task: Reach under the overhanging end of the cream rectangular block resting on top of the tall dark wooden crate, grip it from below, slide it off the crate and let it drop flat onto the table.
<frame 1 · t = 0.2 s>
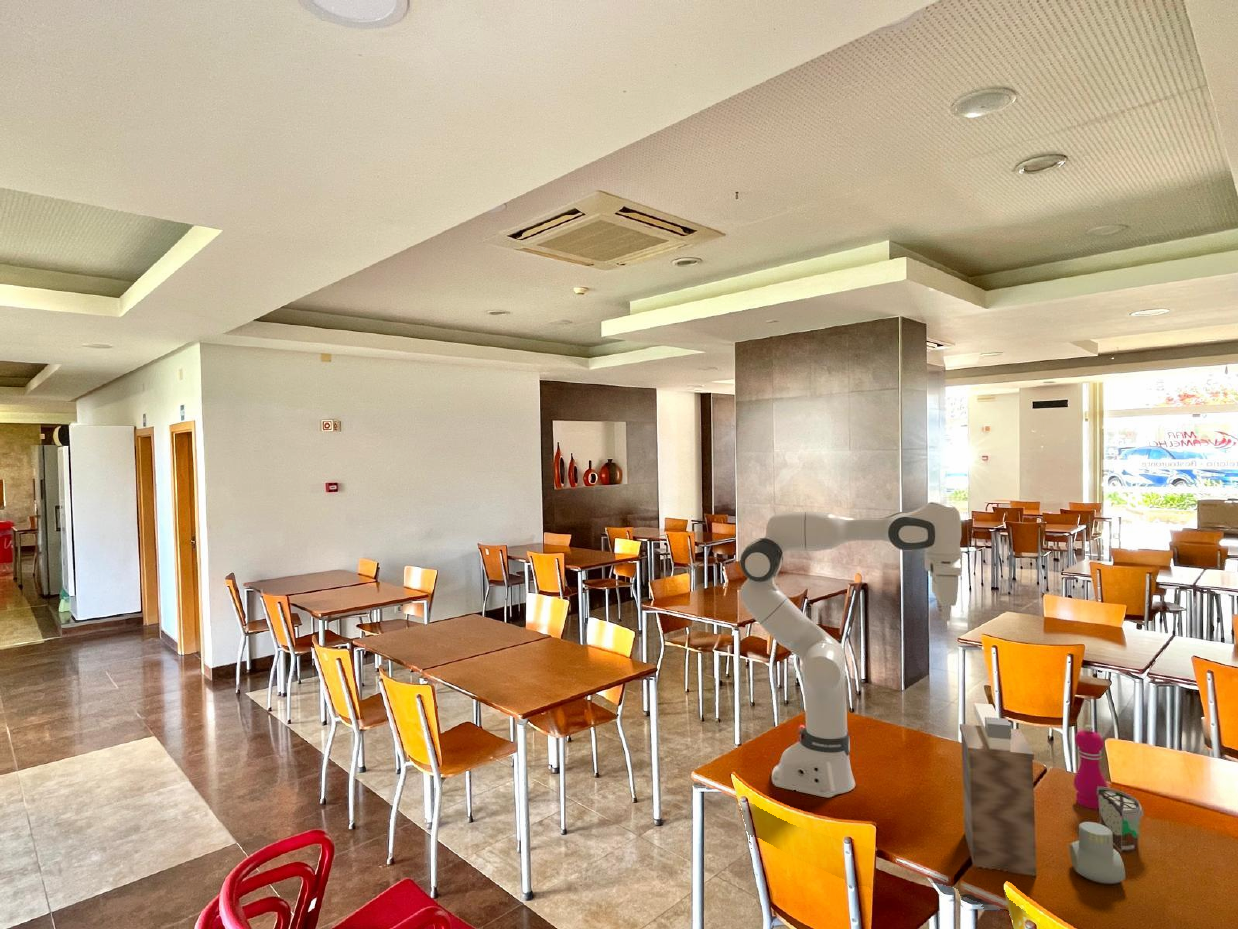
hand: (943, 616, 179), 48 cm above the table, tool pointing down, fingers open, 8 cm apart
pepper mill: (1091, 804, 174), on the table
cream rectangular block: (991, 730, 158), point 26 cm above the table, touching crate
air freshener: (1097, 876, 144), on the table
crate: (998, 853, 153), on the table
food container: (1126, 843, 156), on the table
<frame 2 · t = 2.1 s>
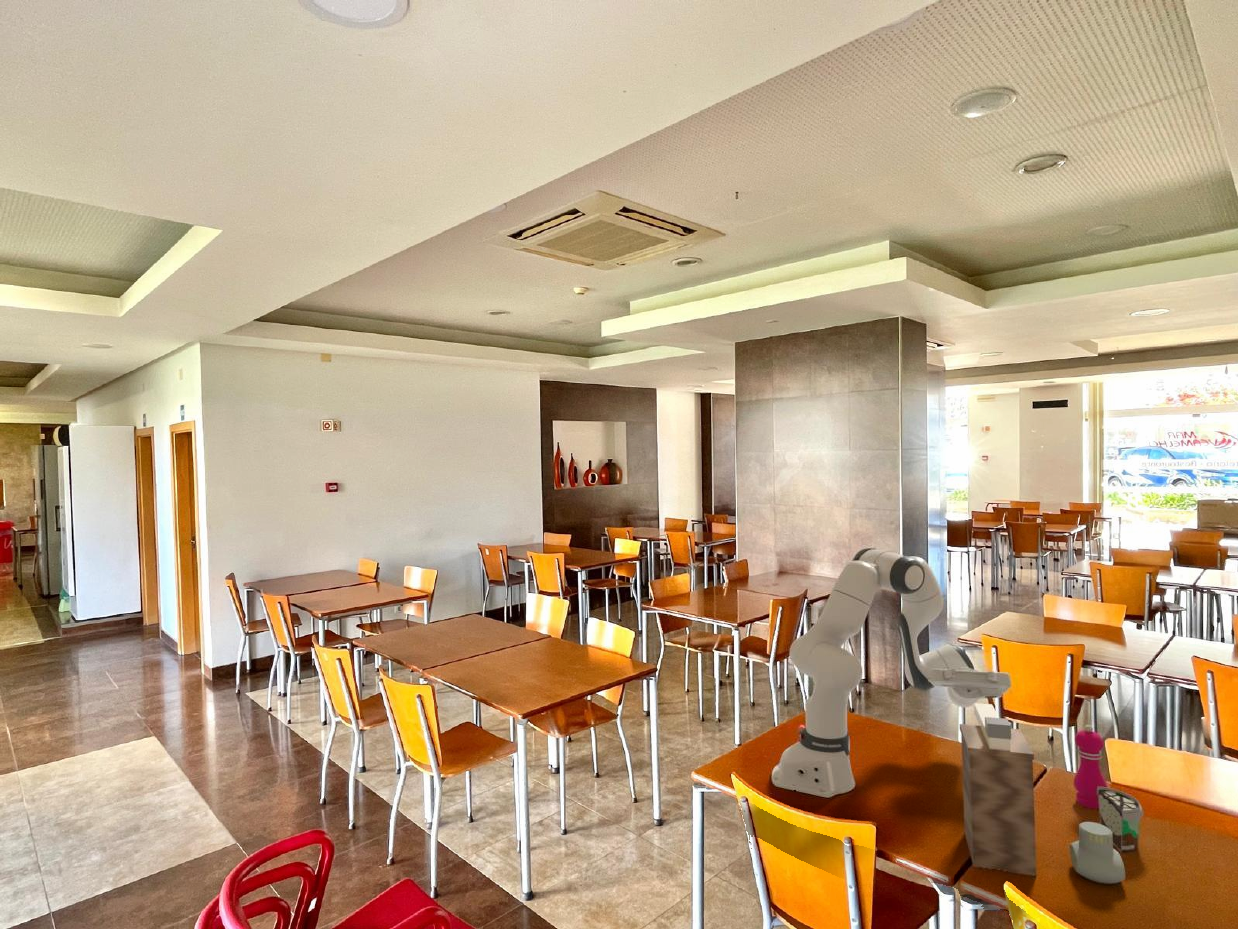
hand: (971, 672, 185), 31 cm above the table, tool pointing upward, fingers open, 8 cm apart
nothing on the table moved.
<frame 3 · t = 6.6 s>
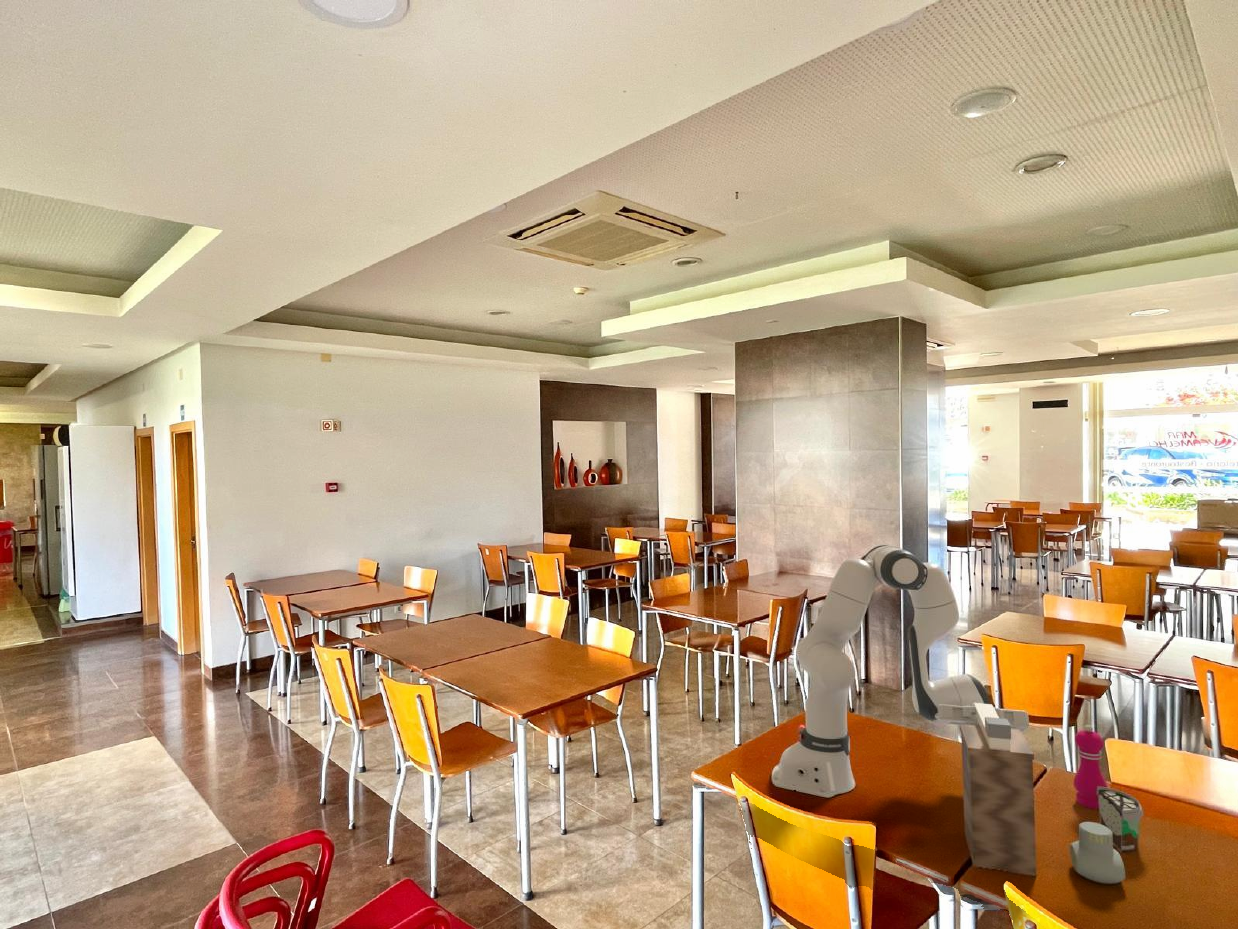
hand: (985, 711, 165), 28 cm above the table, tool pointing upward, fingers closed on cream rectangular block, 4 cm apart
cream rectangular block: (991, 730, 158), point 26 cm above the table, touching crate, gripper
everything else where it was.
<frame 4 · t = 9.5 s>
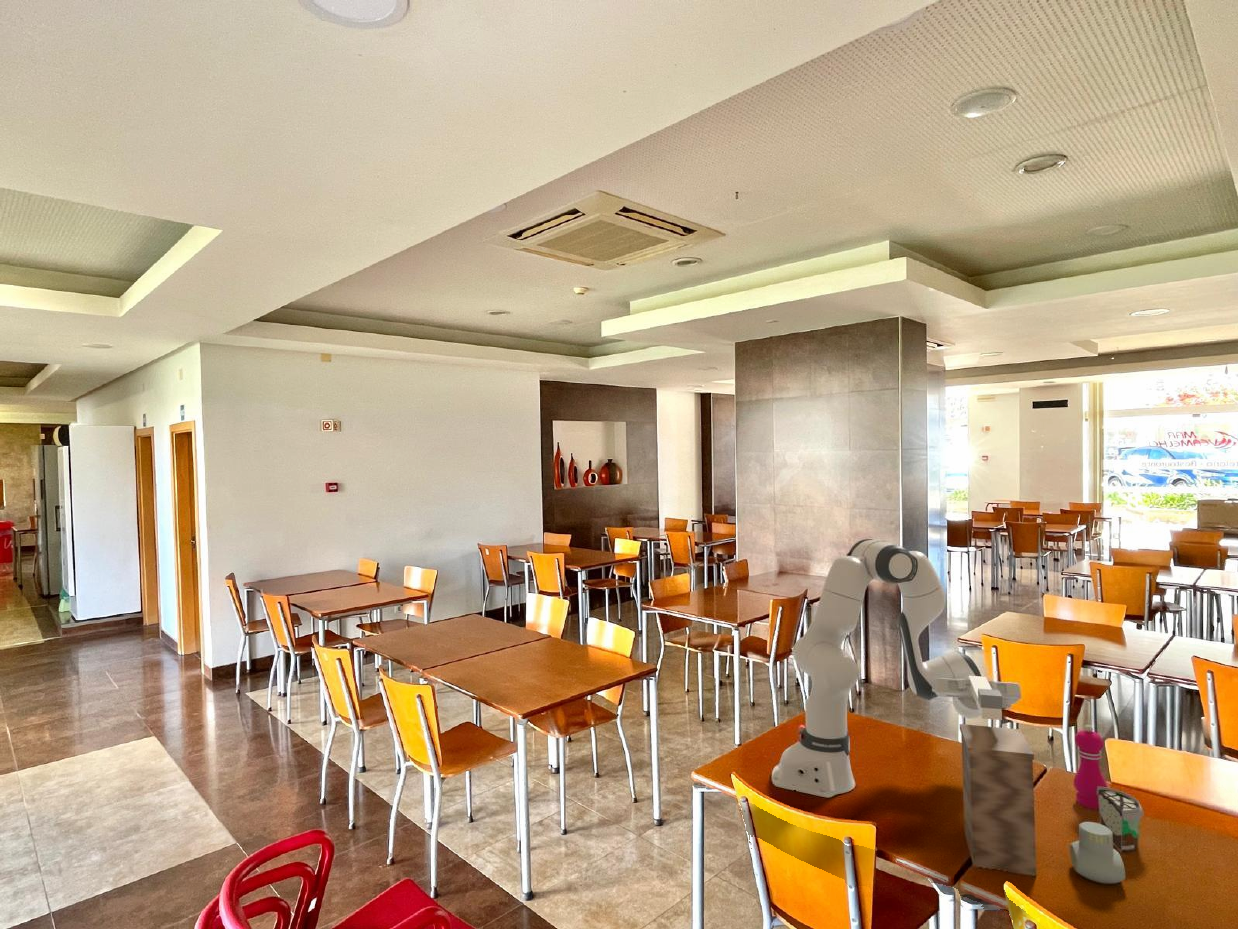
hand: (979, 682, 173), 32 cm above the table, tool pointing upward, fingers closed on cream rectangular block, 4 cm apart
cream rectangular block: (984, 701, 166), point 30 cm above the table, touching gripper
everything else where it was.
when the fingers open (19 cm above the table, at t = 12.8 s): cream rectangular block drops 17 cm, on the table.
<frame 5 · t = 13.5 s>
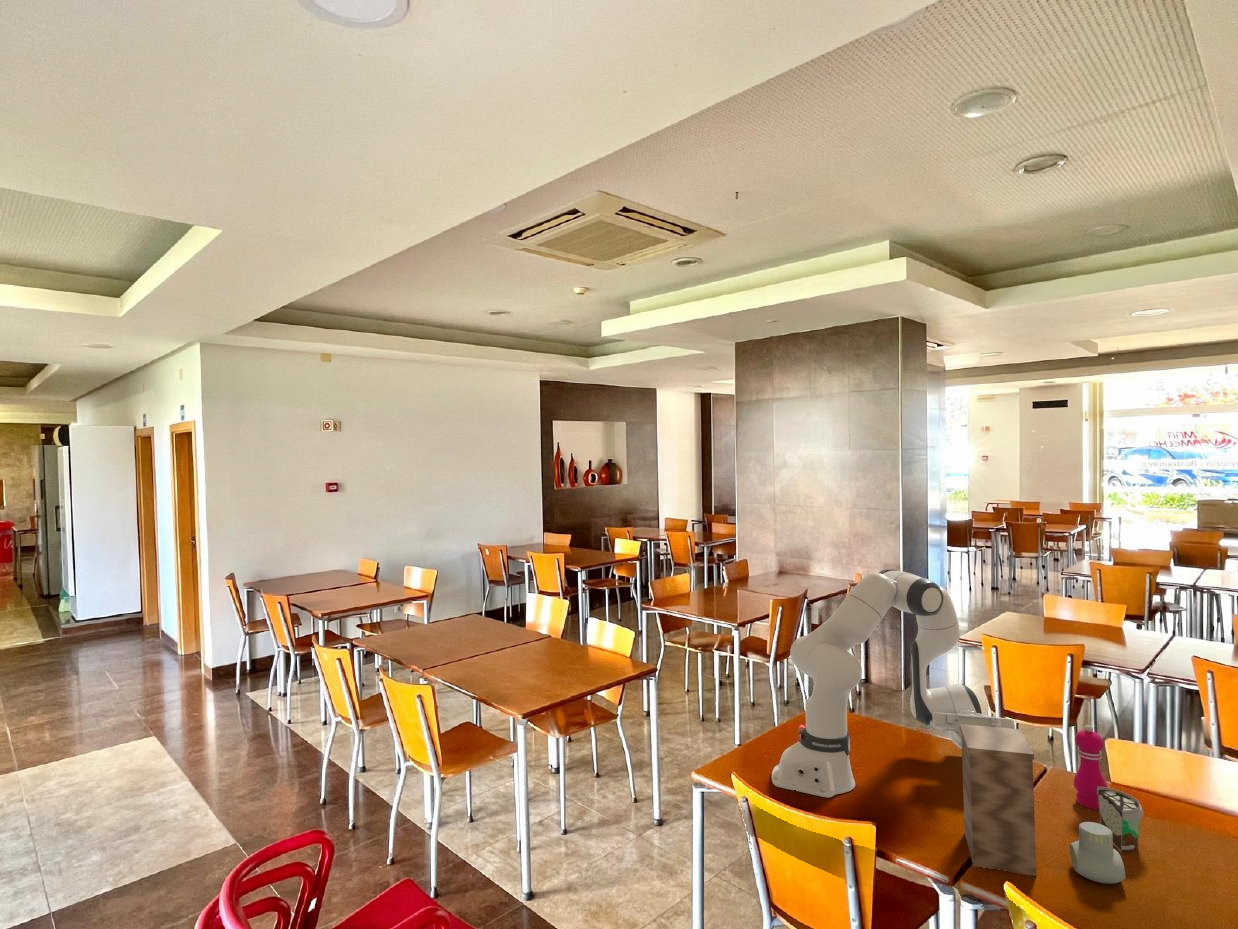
hand: (975, 718, 182), 19 cm above the table, tool pointing upward, fingers open, 8 cm apart
cream rectangular block: (983, 804, 176), on the table
everything else where it was.
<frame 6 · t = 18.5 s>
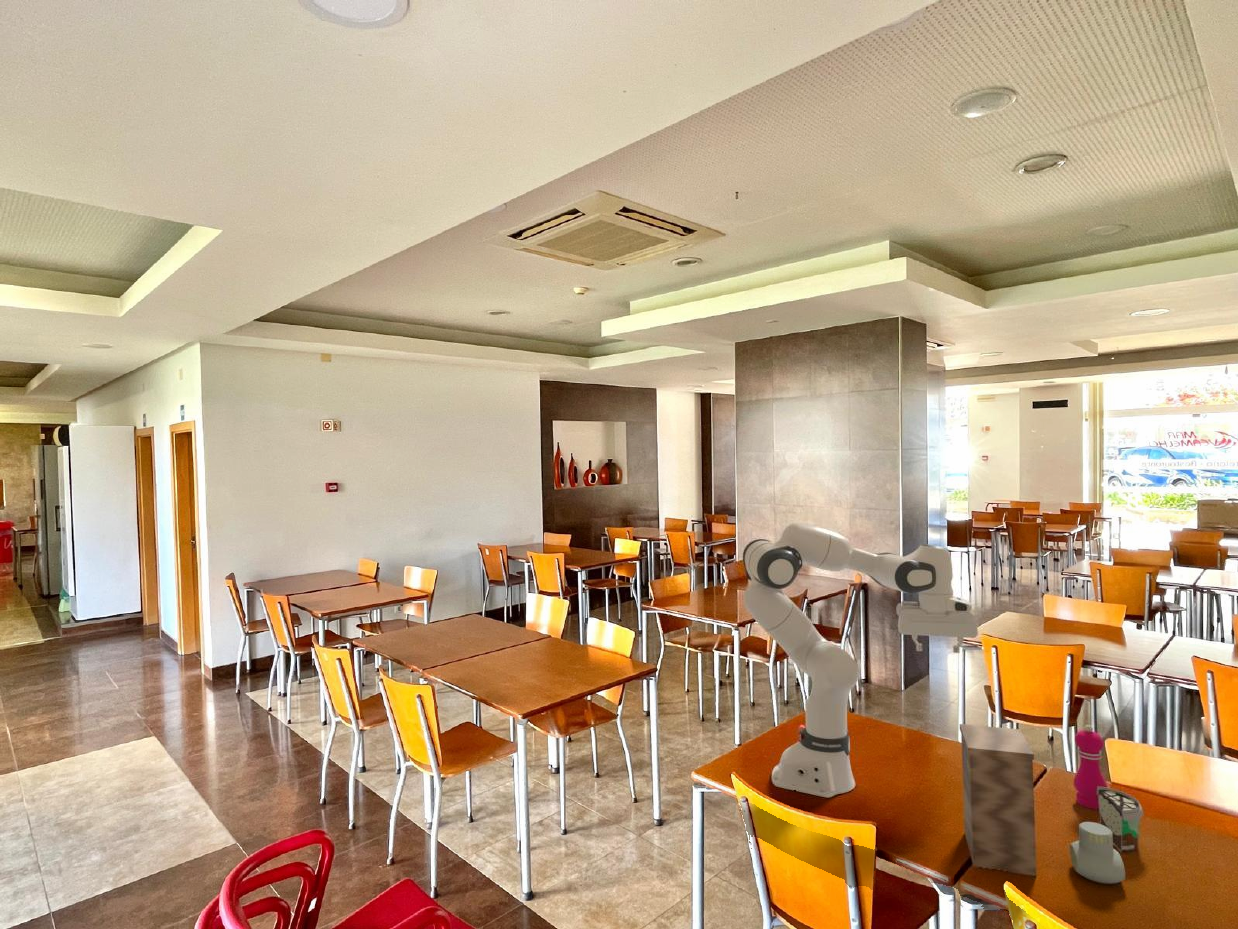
hand: (937, 651, 191), 35 cm above the table, tool pointing down, fingers open, 8 cm apart
nothing on the table moved.
at the end: cream rectangular block on the table; cream rectangular block tilted 0°; cream rectangular block touching table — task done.
